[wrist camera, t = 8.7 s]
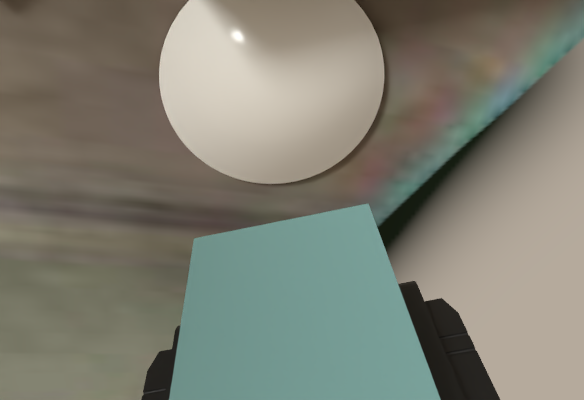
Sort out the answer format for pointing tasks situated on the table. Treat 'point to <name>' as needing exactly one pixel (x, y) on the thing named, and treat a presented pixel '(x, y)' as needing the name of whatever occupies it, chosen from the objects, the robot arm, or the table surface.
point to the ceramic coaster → (271, 84)
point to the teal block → (298, 316)
